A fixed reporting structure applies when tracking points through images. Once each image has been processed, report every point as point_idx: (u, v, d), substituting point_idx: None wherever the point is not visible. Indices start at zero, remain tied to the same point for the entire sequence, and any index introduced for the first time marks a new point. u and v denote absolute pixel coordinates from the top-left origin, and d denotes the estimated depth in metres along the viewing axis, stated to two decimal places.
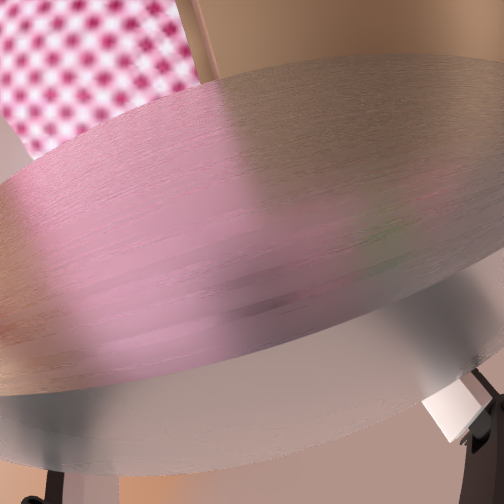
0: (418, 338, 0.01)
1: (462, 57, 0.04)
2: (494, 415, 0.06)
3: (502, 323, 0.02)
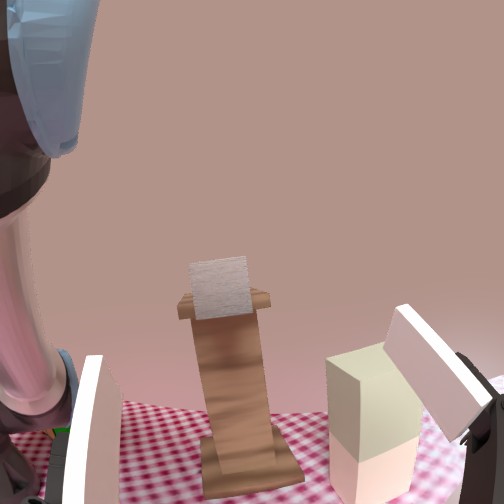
0: None
1: None
2: (494, 415, 0.06)
3: None
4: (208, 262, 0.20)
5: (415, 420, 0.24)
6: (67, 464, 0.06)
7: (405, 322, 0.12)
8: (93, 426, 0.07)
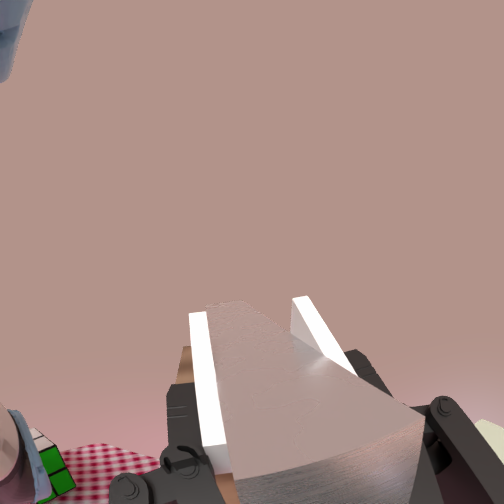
0: (219, 339, 0.15)
1: None
2: None
3: (235, 330, 0.17)
4: (310, 467, 0.04)
5: None
6: (199, 407, 0.08)
7: (299, 313, 0.13)
8: None
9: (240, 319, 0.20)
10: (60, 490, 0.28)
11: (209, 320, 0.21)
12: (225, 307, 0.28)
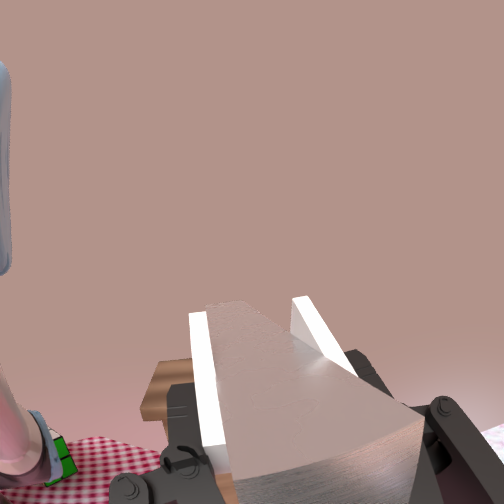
0: (219, 339, 0.15)
1: None
2: None
3: (235, 330, 0.17)
4: (309, 467, 0.04)
5: None
6: (199, 407, 0.08)
7: (298, 313, 0.13)
8: None
9: (240, 319, 0.20)
10: (64, 474, 0.38)
11: (209, 320, 0.21)
12: (225, 307, 0.28)
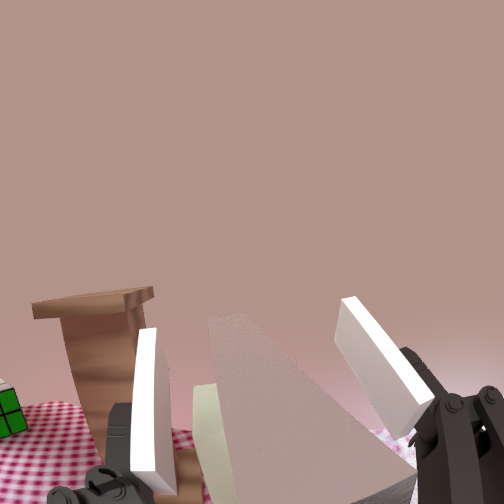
0: (223, 366, 0.15)
1: None
2: (439, 419, 0.07)
3: (238, 355, 0.17)
4: None
5: None
6: (133, 430, 0.07)
7: (350, 314, 0.13)
8: (154, 392, 0.09)
9: (242, 340, 0.20)
10: (14, 429, 0.36)
11: (211, 340, 0.21)
12: (227, 322, 0.27)
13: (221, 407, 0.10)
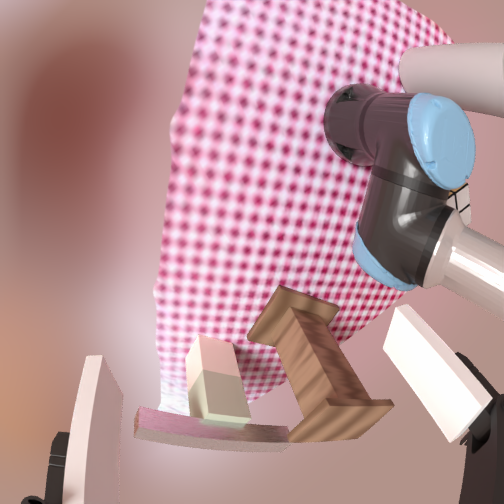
0: (207, 439, 0.40)
1: (230, 422, 0.45)
2: (494, 415, 0.06)
3: (213, 443, 0.41)
4: (137, 430, 0.36)
5: (190, 400, 0.51)
6: (67, 464, 0.06)
7: (405, 322, 0.12)
8: (93, 426, 0.07)
9: (230, 446, 0.42)
10: None
11: (243, 441, 0.42)
12: (269, 447, 0.45)
13: (178, 434, 0.38)
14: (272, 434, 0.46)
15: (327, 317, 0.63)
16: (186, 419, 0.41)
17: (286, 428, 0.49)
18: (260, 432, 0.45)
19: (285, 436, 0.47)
